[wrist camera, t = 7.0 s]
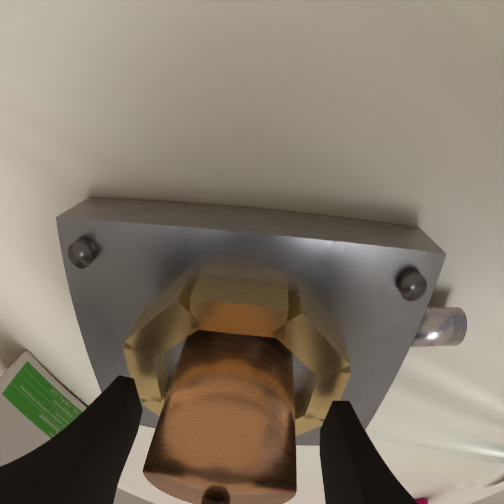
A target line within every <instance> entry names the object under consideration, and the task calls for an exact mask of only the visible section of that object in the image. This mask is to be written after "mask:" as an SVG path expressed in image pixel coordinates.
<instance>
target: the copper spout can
mask: <svg viewBox="0 0 504 504" xmlns="http://www.w3.org/2000/svg"><path fill="white" fill-rule="evenodd" d="M143 473H144V476H145V477H146V479H147V480H148V481H149V482H150V483H151V484H152V485H154V486H155V487H156V488H158V489H160V490H161V491H163V492H165V493H167V494H169V495H171V496H173V497H175V498H178V499H181V500H183V501H187V502H190V503H193V504H283V503H285V502H287V501H289V500H290V499H292V498H293V497H294V496H295V494H296V491H297V486H296V432H295V401H294V376H293V358H292V353H291V351H290V350H289V349H287V348H286V347H285V346H284V345H283V344H282V343H281V342H280V341H279V340H278V339H277V338H274V337H262V336H252V335H242V334H232V333H223V332H215V331H207V330H199V329H198V330H197V331H195V332H194V333H192V334H191V335H189V336H188V337H187V339H186V341H185V343H184V346H183V349H182V352H181V354H180V357H179V360H178V363H177V366H176V369H175V372H174V375H173V378H172V381H171V384H170V387H169V390H168V393H167V396H166V399H165V402H164V405H163V408H162V411H161V414H160V417H159V420H158V423H157V426H156V429H155V432H154V436H153V439H152V442H151V445H150V448H149V451H148V455H147V458H146V461H145V464H144V468H143Z"/></svg>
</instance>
